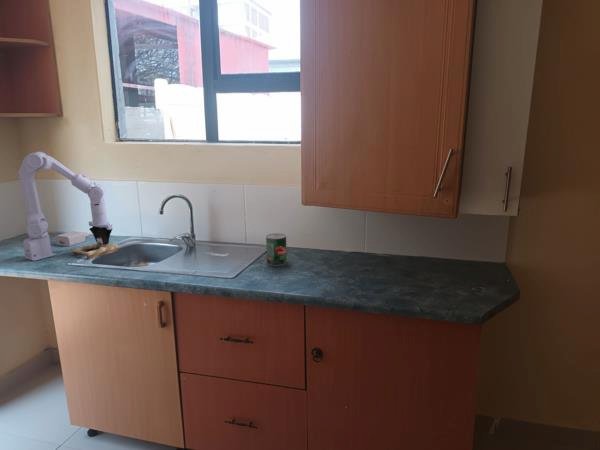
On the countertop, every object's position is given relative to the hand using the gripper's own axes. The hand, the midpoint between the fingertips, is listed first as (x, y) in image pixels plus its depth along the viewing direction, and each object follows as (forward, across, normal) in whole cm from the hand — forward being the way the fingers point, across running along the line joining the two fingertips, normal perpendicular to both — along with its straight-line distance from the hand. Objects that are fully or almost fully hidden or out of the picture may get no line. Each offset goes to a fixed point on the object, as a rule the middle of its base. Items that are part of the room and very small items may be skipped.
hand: (102, 243), depth 195 cm
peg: (+3, 0, 0) cm, 3 cm away
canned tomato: (+4, -76, -25) cm, 81 cm away
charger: (+4, +26, -3) cm, 27 cm away
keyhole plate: (+3, 0, +4) cm, 5 cm away
